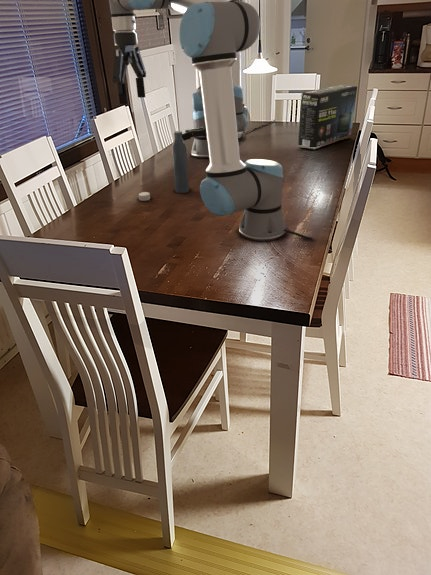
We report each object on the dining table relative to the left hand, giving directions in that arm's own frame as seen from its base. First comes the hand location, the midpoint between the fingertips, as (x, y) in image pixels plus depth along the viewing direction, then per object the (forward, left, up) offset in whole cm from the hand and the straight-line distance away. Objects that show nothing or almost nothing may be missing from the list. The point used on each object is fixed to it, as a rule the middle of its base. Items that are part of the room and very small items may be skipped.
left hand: (193, 140), depth 185 cm
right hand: (+19, -17, +18) cm, 31 cm away
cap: (+19, -17, -16) cm, 30 cm away
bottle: (+9, -4, -18) cm, 20 cm away
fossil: (-81, +2, -18) cm, 83 cm away
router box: (-71, +56, -18) cm, 92 cm away
